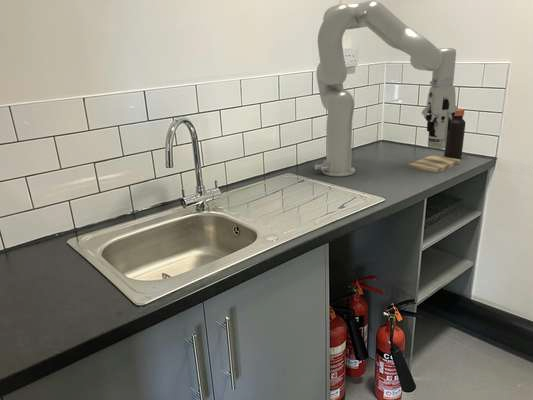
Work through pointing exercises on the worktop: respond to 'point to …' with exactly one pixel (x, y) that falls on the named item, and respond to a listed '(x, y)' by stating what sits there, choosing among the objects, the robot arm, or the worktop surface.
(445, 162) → the oak board
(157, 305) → the worktop surface
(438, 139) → the spray can
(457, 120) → the bottle
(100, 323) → the worktop surface
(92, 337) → the worktop surface
